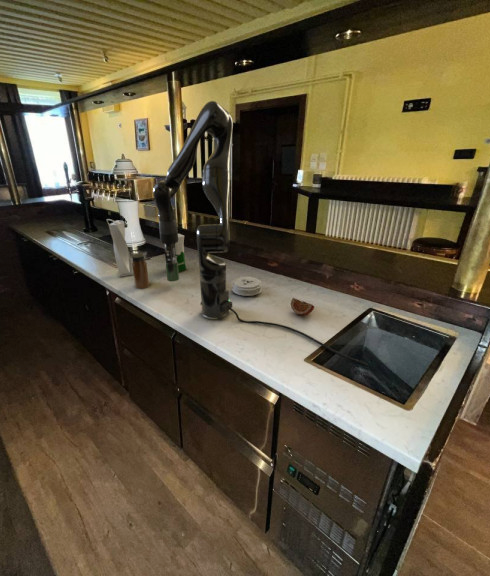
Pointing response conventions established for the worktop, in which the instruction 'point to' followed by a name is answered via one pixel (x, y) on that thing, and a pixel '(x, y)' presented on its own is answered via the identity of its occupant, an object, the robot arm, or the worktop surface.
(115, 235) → the white paper bag
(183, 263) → the milk carton
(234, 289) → the lid
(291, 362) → the worktop surface
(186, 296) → the worktop surface
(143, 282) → the amber bottle
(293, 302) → the fruit slice
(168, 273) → the green bottle
